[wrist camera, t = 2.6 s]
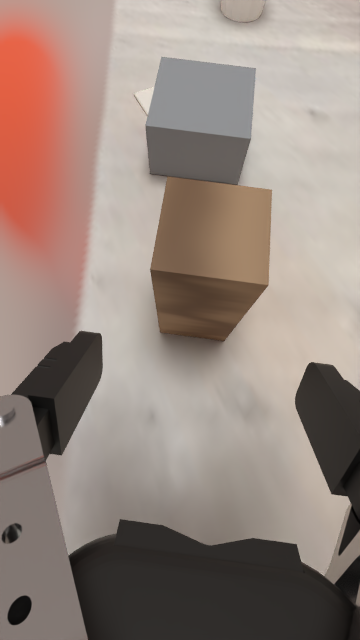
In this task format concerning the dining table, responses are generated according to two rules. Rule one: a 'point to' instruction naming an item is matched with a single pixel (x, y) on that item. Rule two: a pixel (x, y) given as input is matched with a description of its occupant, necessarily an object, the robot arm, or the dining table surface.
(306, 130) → the dining table surface
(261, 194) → the walnut brick
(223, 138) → the base block
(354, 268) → the dining table surface
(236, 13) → the shot glass
